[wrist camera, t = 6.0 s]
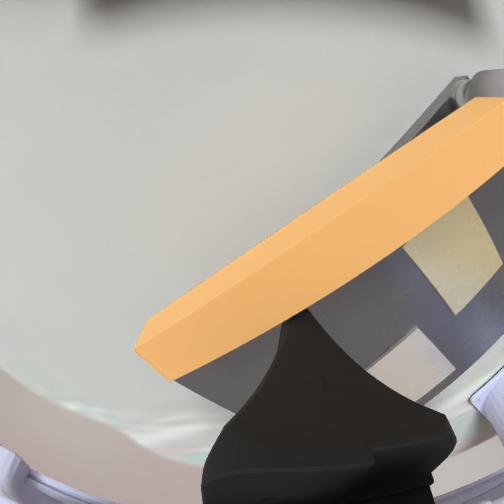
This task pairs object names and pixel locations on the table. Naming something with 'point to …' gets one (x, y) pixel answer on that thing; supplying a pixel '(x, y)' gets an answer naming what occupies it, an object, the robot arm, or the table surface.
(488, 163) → the swing arm
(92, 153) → the table surface
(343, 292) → the panel
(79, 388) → the table surface
